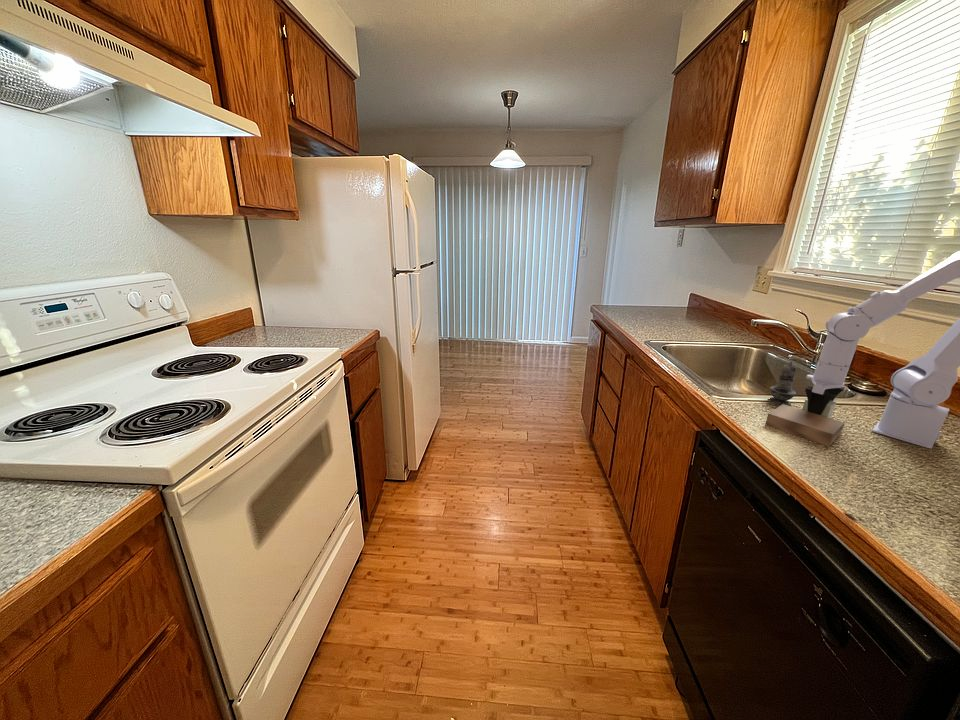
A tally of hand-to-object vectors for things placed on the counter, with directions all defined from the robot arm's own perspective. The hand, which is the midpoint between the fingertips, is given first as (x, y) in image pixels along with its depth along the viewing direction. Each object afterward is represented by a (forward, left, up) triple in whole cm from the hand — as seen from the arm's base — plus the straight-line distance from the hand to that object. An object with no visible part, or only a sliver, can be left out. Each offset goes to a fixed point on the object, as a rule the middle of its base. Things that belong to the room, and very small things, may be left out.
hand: (816, 413), depth 96 cm
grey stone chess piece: (+9, -5, -2) cm, 10 cm away
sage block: (0, 0, -1) cm, 1 cm away
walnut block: (0, +10, -1) cm, 10 cm away
